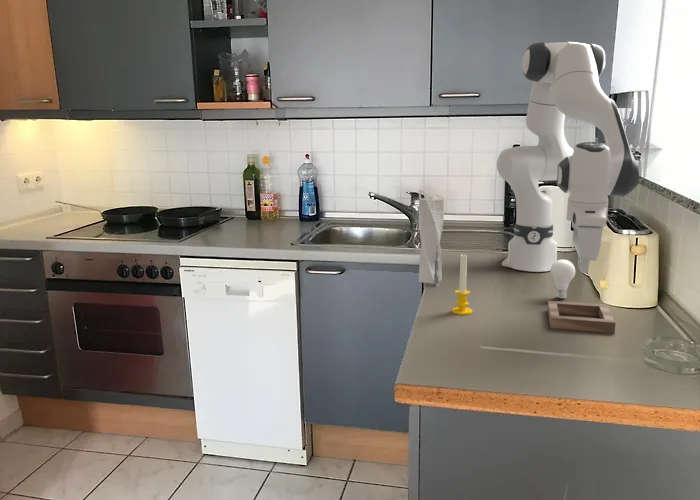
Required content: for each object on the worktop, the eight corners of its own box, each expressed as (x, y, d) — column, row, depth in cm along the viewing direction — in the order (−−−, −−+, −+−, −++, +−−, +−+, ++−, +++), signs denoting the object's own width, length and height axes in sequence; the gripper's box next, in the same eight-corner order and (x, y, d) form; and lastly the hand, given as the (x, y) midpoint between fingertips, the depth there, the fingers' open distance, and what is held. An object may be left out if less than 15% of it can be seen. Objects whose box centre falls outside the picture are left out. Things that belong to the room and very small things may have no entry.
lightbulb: (553, 294, 168) (556, 256, 166) (576, 298, 164) (579, 259, 162) (545, 299, 163) (547, 260, 161) (568, 303, 159) (571, 263, 157)
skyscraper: (411, 285, 179) (412, 191, 173) (421, 279, 186) (422, 188, 180) (438, 288, 175) (440, 192, 169) (447, 282, 182) (449, 189, 176)
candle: (474, 314, 151) (476, 254, 148) (454, 315, 151) (456, 255, 148) (469, 308, 156) (471, 250, 153) (449, 309, 156) (451, 250, 153)
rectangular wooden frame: (547, 310, 154) (548, 300, 154) (605, 314, 151) (606, 304, 150) (550, 328, 141) (551, 318, 140) (614, 332, 137) (615, 322, 137)
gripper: (569, 206, 151) (565, 260, 154) (576, 219, 132) (572, 280, 134) (595, 207, 149) (591, 261, 152) (607, 220, 130) (602, 282, 133)
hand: (582, 270), depth 143 cm, fingers closed
